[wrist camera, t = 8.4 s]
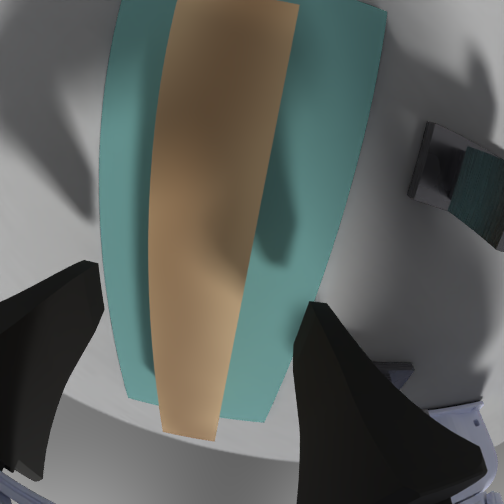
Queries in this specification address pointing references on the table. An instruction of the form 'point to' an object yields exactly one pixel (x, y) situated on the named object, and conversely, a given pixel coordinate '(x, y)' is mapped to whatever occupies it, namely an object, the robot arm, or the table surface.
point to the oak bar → (209, 192)
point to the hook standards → (456, 197)
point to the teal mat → (274, 194)
